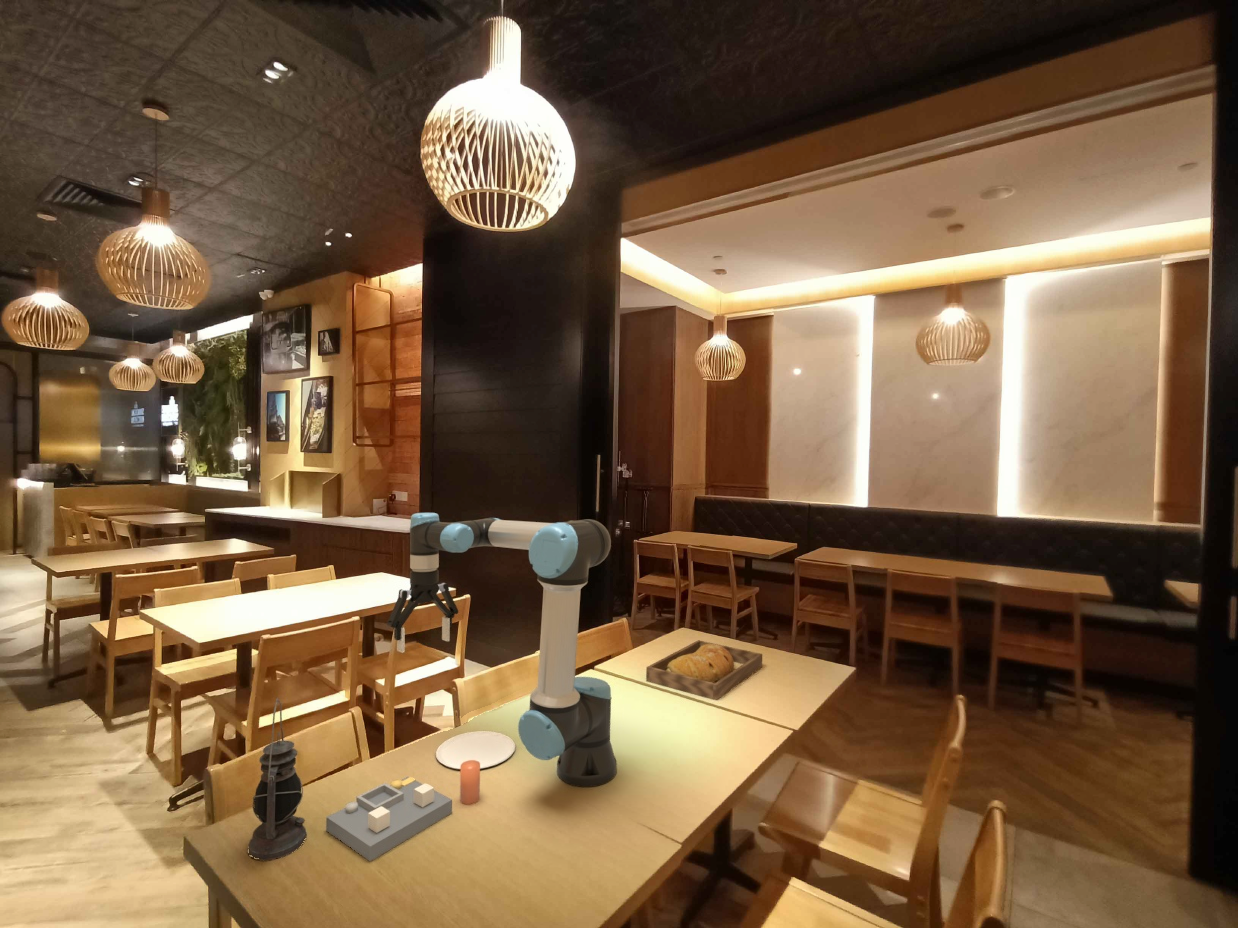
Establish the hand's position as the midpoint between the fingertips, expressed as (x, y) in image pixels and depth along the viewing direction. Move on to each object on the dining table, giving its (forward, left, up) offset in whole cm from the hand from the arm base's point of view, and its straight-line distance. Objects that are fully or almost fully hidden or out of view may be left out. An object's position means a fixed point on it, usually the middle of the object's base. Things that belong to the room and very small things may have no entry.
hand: (423, 645), depth 167 cm
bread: (-38, -95, -27) cm, 106 cm away
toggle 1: (-29, +32, -24) cm, 49 cm away
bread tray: (-39, -95, -27) cm, 106 cm away
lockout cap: (-32, +11, -27) cm, 43 cm away
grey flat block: (-25, +27, -27) cm, 45 cm away
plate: (-16, -5, -27) cm, 32 cm away
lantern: (-13, +45, -27) cm, 54 cm away
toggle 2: (-29, +21, -24) cm, 43 cm away
